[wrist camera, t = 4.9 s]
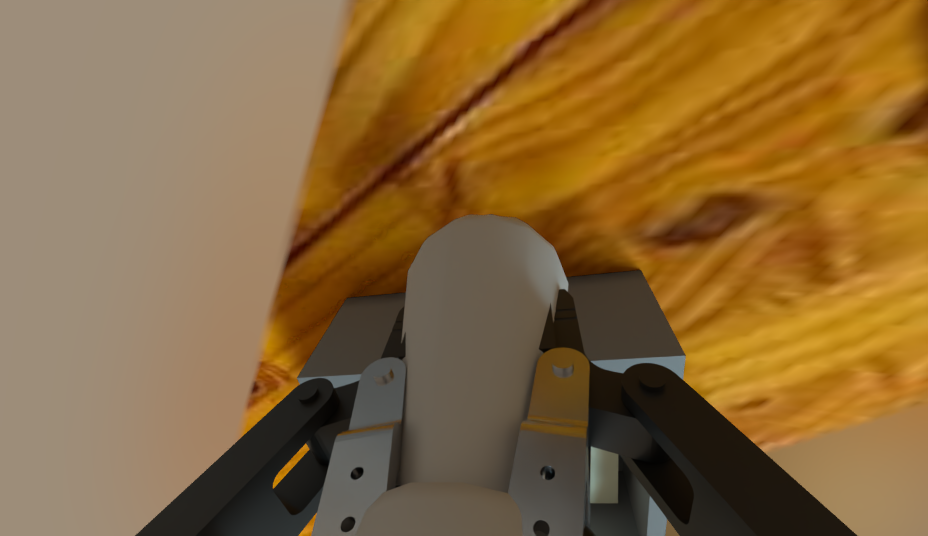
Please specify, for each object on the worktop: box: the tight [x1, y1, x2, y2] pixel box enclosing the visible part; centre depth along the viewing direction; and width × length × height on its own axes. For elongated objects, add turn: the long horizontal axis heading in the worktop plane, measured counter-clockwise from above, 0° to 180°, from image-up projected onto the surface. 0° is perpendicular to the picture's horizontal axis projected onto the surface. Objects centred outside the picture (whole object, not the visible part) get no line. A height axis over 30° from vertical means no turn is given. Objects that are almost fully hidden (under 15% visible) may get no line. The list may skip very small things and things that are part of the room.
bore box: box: [297, 270, 686, 536], centre depth 26 cm, size 18×18×7 cm
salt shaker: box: [352, 214, 568, 536], centre depth 11 cm, size 6×6×13 cm
